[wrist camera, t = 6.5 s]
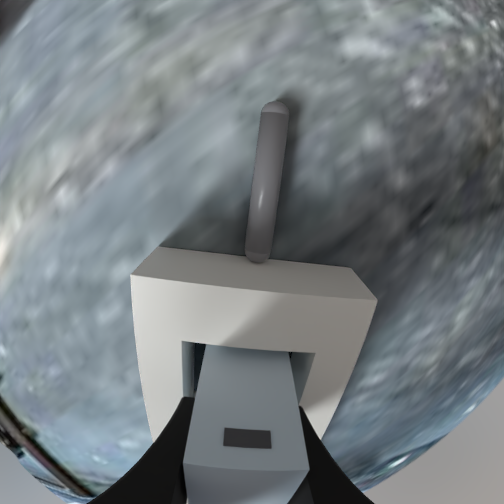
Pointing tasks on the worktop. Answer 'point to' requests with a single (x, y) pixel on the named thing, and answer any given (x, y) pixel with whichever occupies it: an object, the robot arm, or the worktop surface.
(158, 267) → the power strip
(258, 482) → the block
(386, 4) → the worktop surface
